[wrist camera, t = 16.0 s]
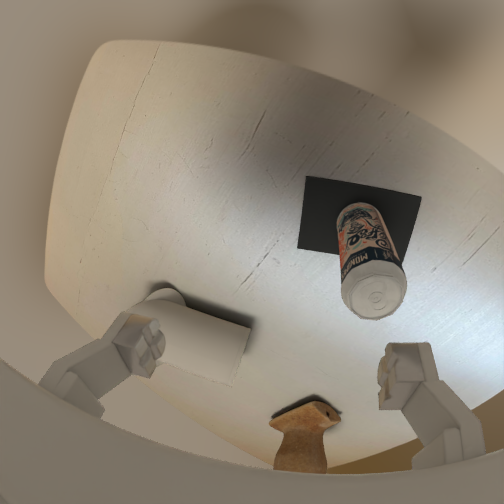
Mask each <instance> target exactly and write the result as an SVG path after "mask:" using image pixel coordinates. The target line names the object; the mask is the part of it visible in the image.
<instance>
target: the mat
mask: <svg viewBox="0 0 504 504" xmlns="http://www.w3.org/2000/svg"><path fill="white" fill-rule="evenodd" d="M421 199H422V197H419V196H415V195H410V194H406V193H401V192H396V191H391V190H386V189H381V188H376V187H371V186H366V185H360V184H355V183H349V182H343V181H337V180H330V179H324V178H317V177H310V176H306V183H305V192H304V200H303V208H302V216H301V224H300V232H299V239H298V246H297V248H298V249H305V250H311V251H318V252H324V253H331V254H337V255H340V253H339V240H338V231H337V219H338V217H339V215H340V213H341V212H342V210H343V209H344V208H346V207H347V206H349V205H351V204H354V203H367V204H370V205H372V206H373V207H375V208H376V209H377V210H378V211H379V213H380V214H381V216H382V218H383V221H384V223H385V225H386V228H387V230H388V232H389V235H390V237H391V240H392V242H393V244H394V247H395V249H396V252H397V255H398V257H399V260H400V262H401V265H402V262H403V259H404V257H405V254H406V251H407V247H408V244H409V241H410V238H411V235H412V231H413V228H414V225H415V221H416V218H417V214H418V210H419V207H420V203H421Z"/></svg>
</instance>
